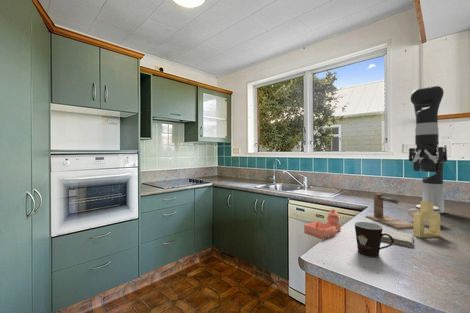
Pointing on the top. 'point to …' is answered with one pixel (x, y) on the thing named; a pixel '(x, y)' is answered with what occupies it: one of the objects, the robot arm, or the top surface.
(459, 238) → the top surface
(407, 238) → the washcloth
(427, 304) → the top surface
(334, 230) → the pottery
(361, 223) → the coffee mug
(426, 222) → the teacup with lid
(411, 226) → the walnut stand
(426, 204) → the brass link
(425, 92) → the robot arm
